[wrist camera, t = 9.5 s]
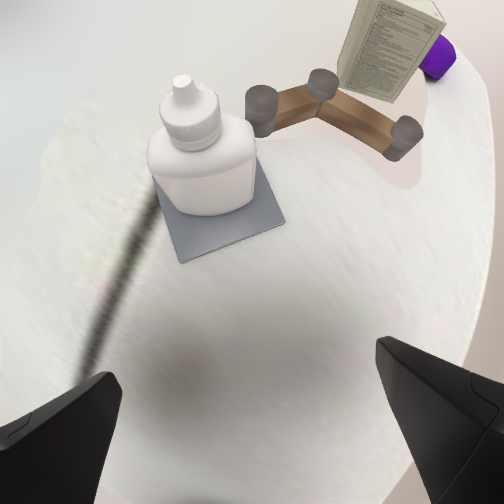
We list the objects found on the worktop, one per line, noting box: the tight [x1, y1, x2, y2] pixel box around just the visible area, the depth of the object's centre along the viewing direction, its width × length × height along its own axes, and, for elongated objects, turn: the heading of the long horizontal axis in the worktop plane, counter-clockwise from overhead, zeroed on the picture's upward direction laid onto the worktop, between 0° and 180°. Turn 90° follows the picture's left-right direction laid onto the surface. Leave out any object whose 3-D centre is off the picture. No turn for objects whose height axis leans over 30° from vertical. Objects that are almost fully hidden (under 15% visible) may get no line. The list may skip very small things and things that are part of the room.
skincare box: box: [337, 0, 447, 103], centre depth 17 cm, size 6×4×12 cm
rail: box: [245, 69, 423, 162], centre depth 20 cm, size 13×8×4 cm, turn 112°
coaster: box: [152, 156, 286, 263], centre depth 21 cm, size 8×8×1 cm
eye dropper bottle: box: [147, 74, 257, 216], centre depth 14 cm, size 4×6×12 cm
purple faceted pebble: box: [418, 34, 456, 80], centre depth 23 cm, size 5×5×15 cm
